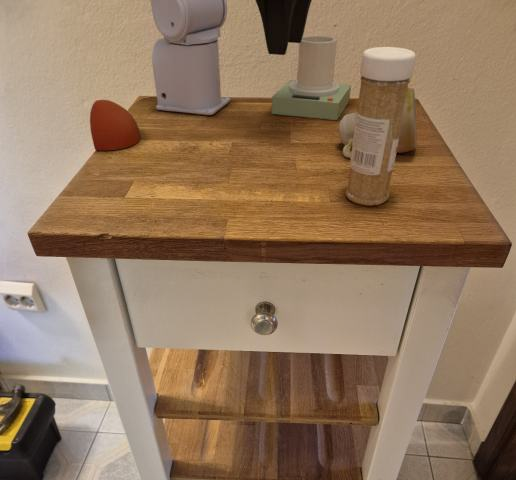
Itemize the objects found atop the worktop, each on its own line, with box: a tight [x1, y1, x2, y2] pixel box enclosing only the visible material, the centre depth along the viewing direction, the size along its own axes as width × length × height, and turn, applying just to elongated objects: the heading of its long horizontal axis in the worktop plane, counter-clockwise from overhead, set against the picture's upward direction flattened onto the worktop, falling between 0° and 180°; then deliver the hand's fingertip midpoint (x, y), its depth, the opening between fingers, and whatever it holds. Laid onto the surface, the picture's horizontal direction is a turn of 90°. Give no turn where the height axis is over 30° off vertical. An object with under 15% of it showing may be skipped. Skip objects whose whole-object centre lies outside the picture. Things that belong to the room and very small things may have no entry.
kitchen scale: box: [271, 79, 352, 121], centre depth 72 cm, size 10×10×3 cm
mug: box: [338, 87, 418, 160], centre depth 58 cm, size 8×10×10 cm
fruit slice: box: [89, 99, 141, 152], centre depth 62 cm, size 8×7×5 cm
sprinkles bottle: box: [345, 46, 416, 207], centre depth 45 cm, size 5×5×14 cm
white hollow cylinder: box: [296, 34, 338, 90], centre depth 69 cm, size 5×5×6 cm
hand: (285, 48), depth 61 cm, fingers open, 7 cm apart
